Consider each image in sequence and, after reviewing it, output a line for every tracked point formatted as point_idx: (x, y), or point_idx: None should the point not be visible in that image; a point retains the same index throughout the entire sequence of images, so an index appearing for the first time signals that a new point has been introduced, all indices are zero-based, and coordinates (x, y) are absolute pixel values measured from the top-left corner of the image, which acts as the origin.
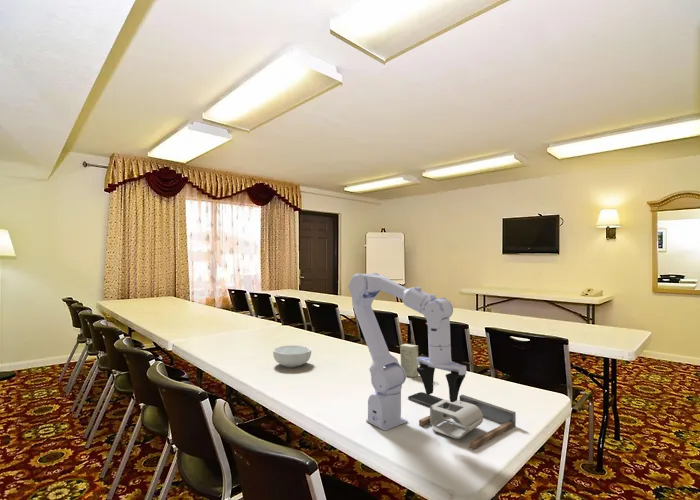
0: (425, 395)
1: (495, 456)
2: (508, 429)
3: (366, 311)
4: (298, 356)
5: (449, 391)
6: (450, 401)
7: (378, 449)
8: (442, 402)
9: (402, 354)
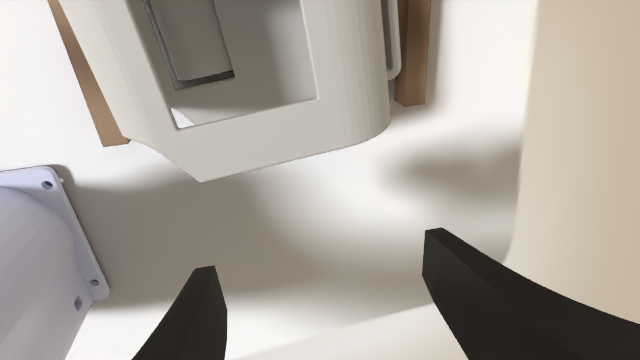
0: None
1: (489, 62)
2: None
3: None
4: None
5: (464, 346)
6: (424, 276)
7: (226, 350)
8: (127, 35)
9: None
